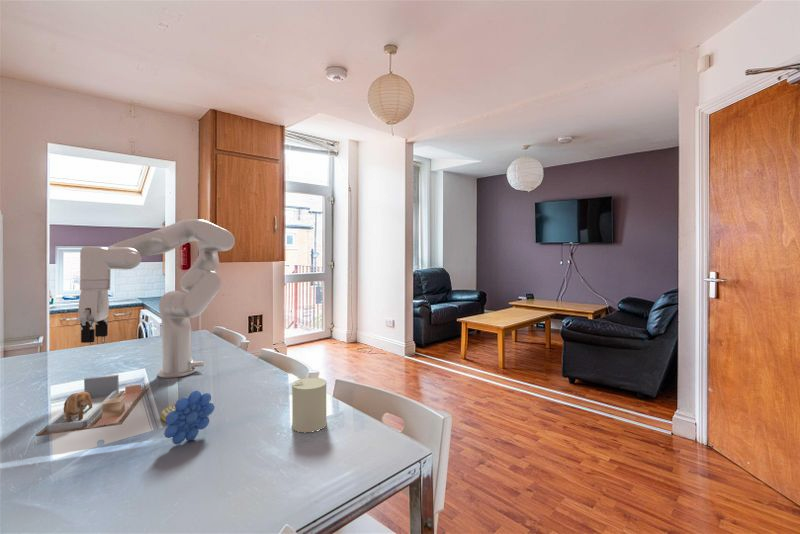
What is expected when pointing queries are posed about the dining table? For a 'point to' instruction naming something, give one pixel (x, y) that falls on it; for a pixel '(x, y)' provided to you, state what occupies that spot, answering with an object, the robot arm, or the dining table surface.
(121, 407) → the cube
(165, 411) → the decorated donut
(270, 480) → the dining table surface
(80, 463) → the dining table surface
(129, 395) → the broken strip
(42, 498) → the dining table surface
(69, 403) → the lion figurine
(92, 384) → the grey long open box
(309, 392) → the can
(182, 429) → the grapes
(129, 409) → the lane rails
